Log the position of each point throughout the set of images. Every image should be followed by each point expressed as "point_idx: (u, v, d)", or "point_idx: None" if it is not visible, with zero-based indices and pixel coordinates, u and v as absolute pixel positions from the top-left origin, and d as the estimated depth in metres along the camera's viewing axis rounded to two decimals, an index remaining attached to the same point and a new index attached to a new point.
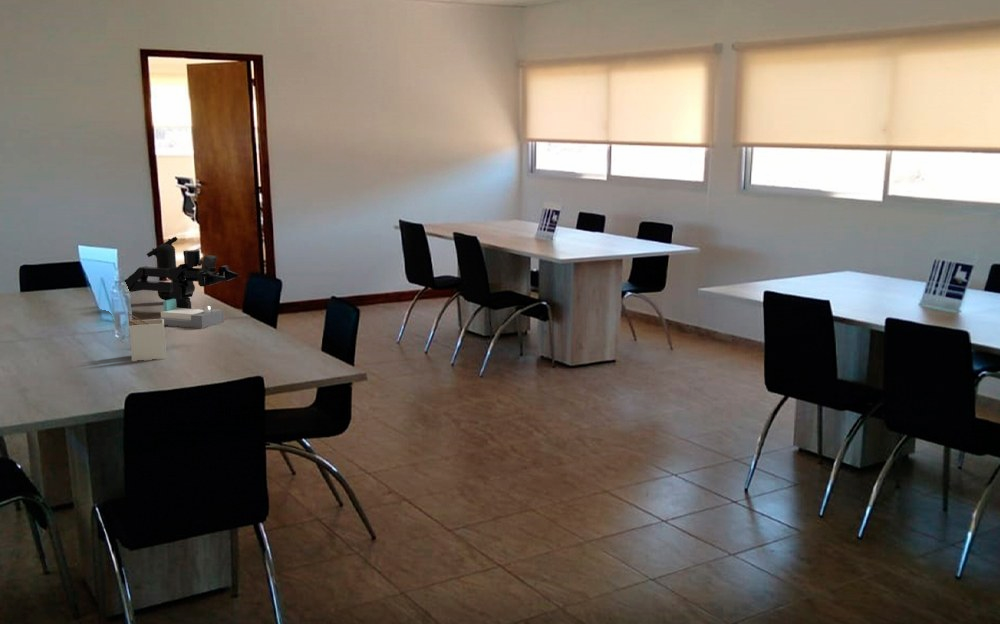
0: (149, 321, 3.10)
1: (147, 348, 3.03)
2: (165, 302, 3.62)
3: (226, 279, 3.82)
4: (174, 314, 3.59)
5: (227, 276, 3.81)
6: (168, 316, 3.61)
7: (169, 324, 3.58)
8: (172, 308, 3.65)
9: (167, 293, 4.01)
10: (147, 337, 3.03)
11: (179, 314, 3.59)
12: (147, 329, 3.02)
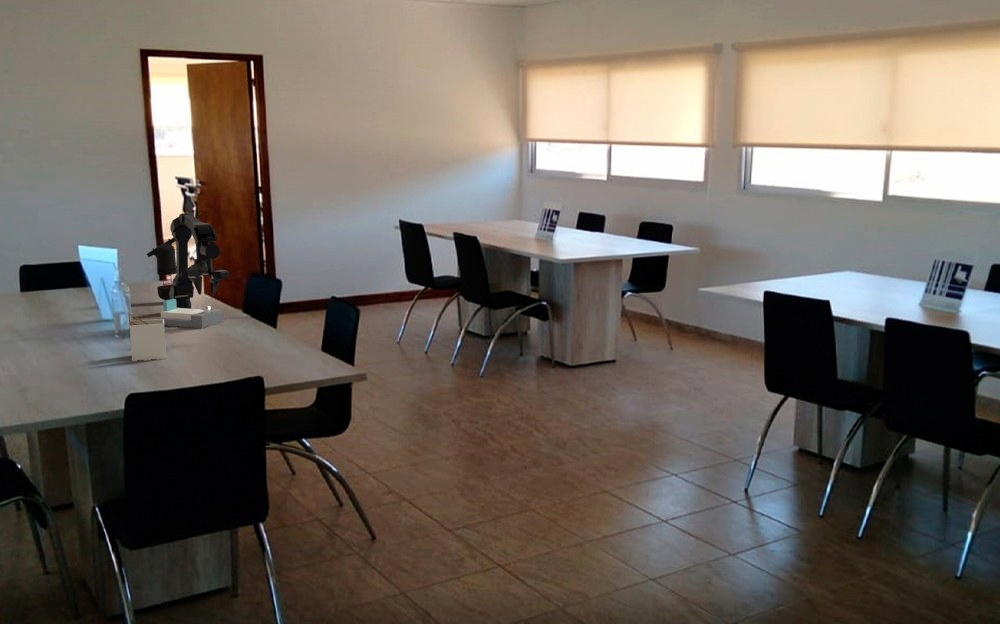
0: (149, 321, 3.10)
1: (147, 348, 3.04)
2: (165, 302, 3.62)
3: None
4: (174, 314, 3.59)
5: None
6: (168, 316, 3.61)
7: (169, 324, 3.58)
8: (172, 308, 3.65)
9: (167, 293, 4.01)
10: (147, 337, 3.03)
11: (179, 314, 3.59)
12: (147, 329, 3.02)
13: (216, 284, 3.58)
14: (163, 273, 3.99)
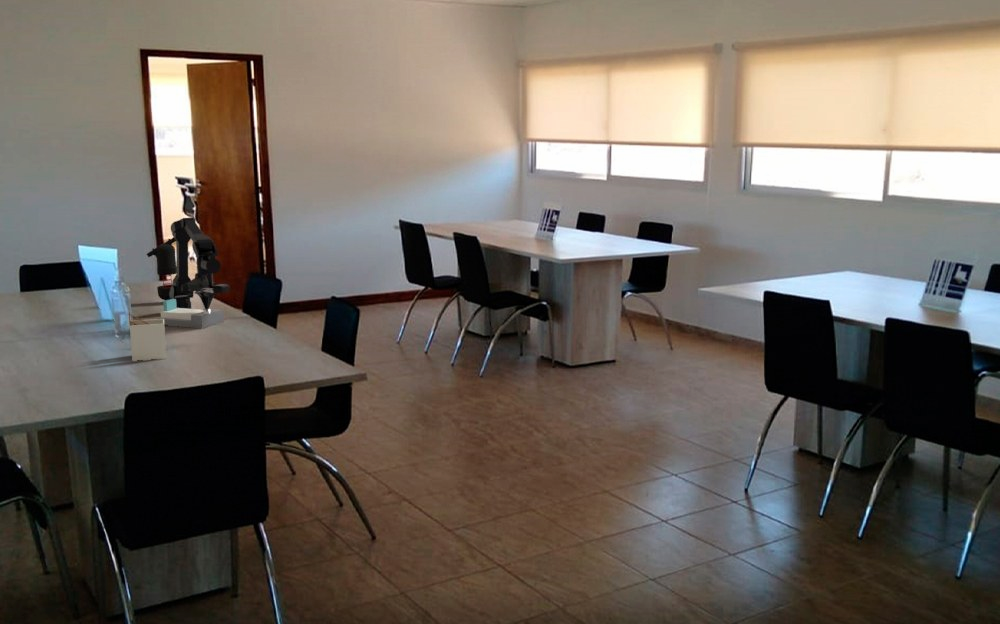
0: (149, 321, 3.10)
1: (147, 348, 3.04)
2: (165, 302, 3.62)
3: None
4: (174, 314, 3.59)
5: None
6: (168, 316, 3.61)
7: (169, 324, 3.58)
8: (172, 308, 3.65)
9: (167, 293, 4.01)
10: (147, 337, 3.03)
11: (179, 314, 3.59)
12: (147, 329, 3.02)
13: (211, 298, 3.59)
14: (163, 273, 3.99)
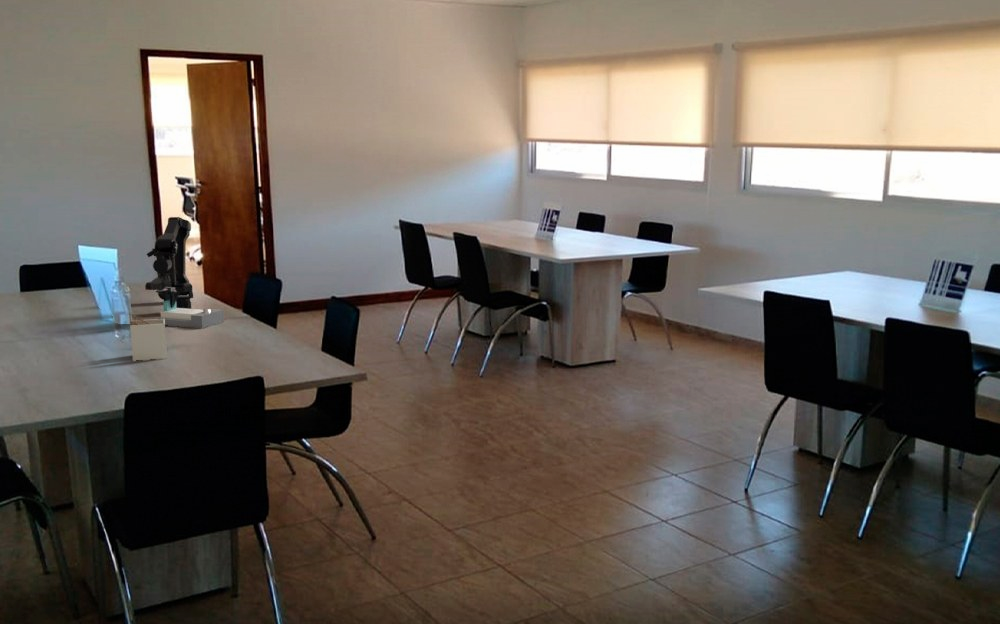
0: (150, 321, 3.10)
1: (148, 348, 3.04)
2: (165, 302, 3.62)
3: None
4: (174, 314, 3.59)
5: None
6: (168, 316, 3.61)
7: (169, 324, 3.58)
8: (172, 308, 3.65)
9: None
10: (148, 337, 3.03)
11: (179, 314, 3.59)
12: (148, 329, 3.03)
13: (175, 297, 3.65)
14: None
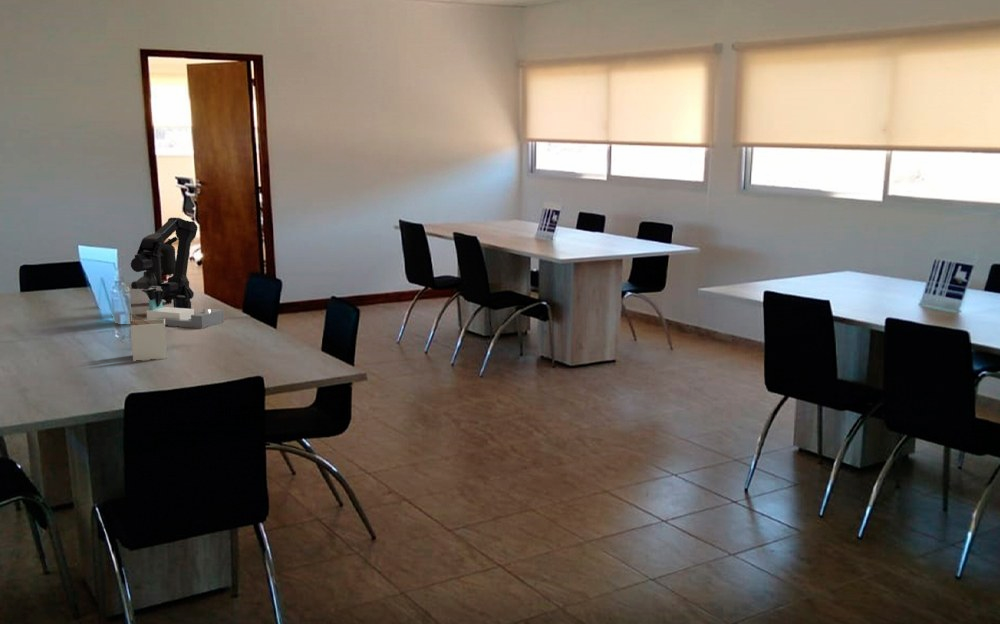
0: (150, 321, 3.10)
1: (148, 348, 3.04)
2: (151, 301, 3.64)
3: None
4: (160, 313, 3.61)
5: None
6: (154, 315, 3.63)
7: (169, 324, 3.58)
8: (158, 307, 3.67)
9: (167, 293, 4.01)
10: (148, 337, 3.03)
11: (165, 313, 3.61)
12: (148, 329, 3.03)
13: (161, 296, 3.67)
14: (163, 273, 3.99)
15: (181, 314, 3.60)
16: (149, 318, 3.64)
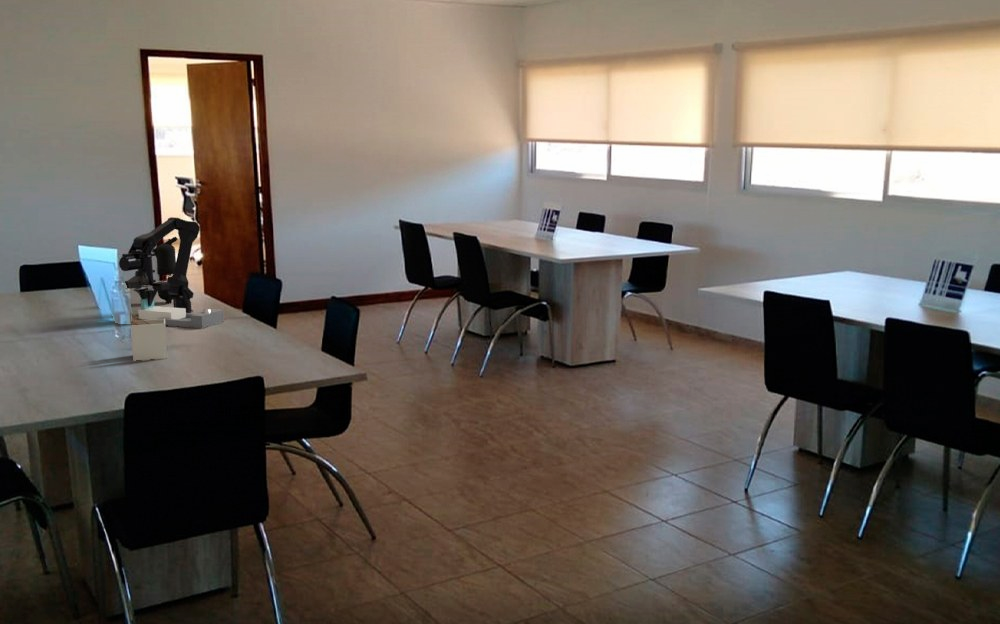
0: (150, 321, 3.10)
1: (148, 348, 3.04)
2: (143, 300, 3.65)
3: None
4: (151, 312, 3.63)
5: None
6: (145, 315, 3.64)
7: (169, 324, 3.58)
8: (150, 306, 3.69)
9: (167, 293, 4.01)
10: (148, 337, 3.03)
11: (156, 312, 3.62)
12: (148, 329, 3.03)
13: (153, 295, 3.68)
14: (163, 273, 3.99)
15: (172, 313, 3.61)
16: (141, 317, 3.65)
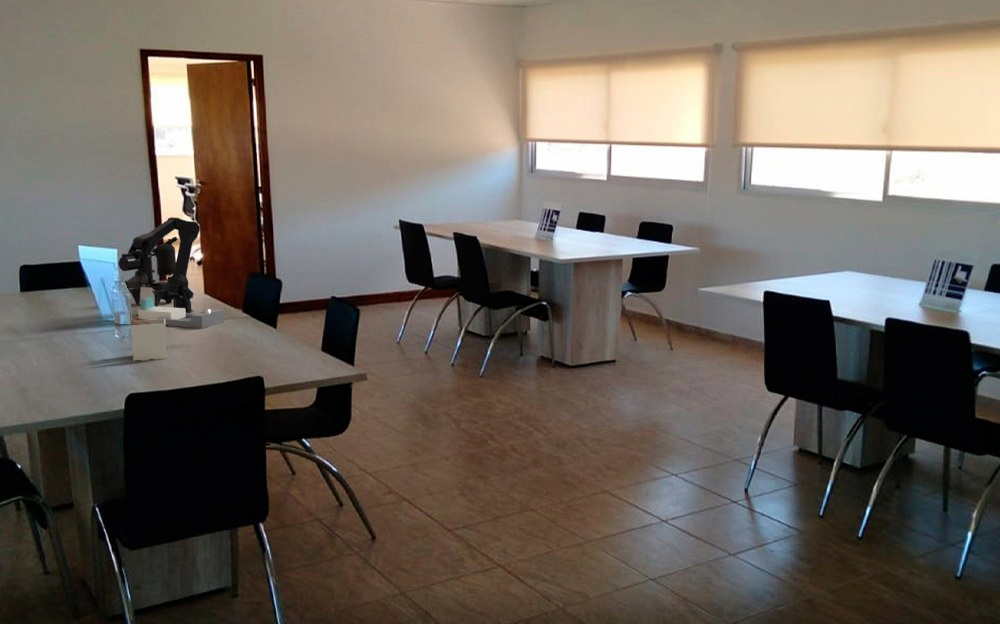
0: (151, 321, 3.10)
1: (149, 348, 3.04)
2: (142, 300, 3.65)
3: None
4: (151, 312, 3.63)
5: None
6: (145, 315, 3.64)
7: (169, 324, 3.58)
8: (149, 306, 3.69)
9: (167, 293, 4.01)
10: (148, 337, 3.03)
11: (156, 312, 3.62)
12: (149, 329, 3.03)
13: (160, 295, 3.67)
14: (163, 273, 3.99)
15: (172, 313, 3.61)
16: (140, 317, 3.65)
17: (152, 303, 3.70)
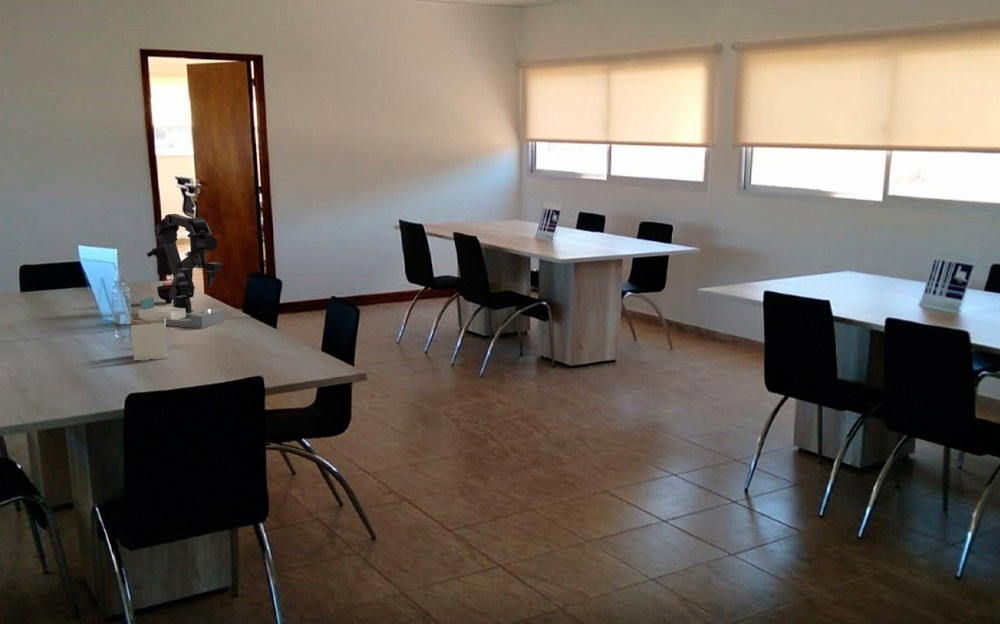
0: (151, 321, 3.11)
1: (149, 348, 3.04)
2: (142, 300, 3.65)
3: None
4: (151, 312, 3.63)
5: None
6: (145, 315, 3.64)
7: (169, 324, 3.58)
8: (149, 306, 3.69)
9: (167, 293, 4.01)
10: (149, 337, 3.03)
11: (156, 312, 3.62)
12: (149, 329, 3.03)
13: (213, 276, 3.71)
14: (163, 273, 3.99)
15: (172, 313, 3.61)
16: (140, 317, 3.65)
17: (152, 303, 3.70)
